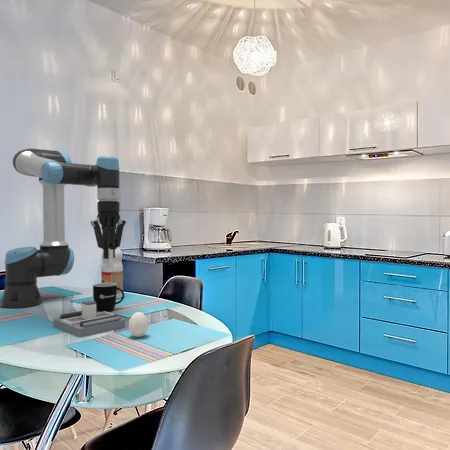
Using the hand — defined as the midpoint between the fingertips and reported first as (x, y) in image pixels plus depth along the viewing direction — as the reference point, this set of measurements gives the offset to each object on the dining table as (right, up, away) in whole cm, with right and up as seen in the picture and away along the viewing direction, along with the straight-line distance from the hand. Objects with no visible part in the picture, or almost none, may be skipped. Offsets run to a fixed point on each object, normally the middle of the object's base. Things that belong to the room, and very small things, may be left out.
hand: (109, 267), depth 149 cm
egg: (+14, -20, -18) cm, 30 cm away
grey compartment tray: (-5, -19, -7) cm, 21 cm away
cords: (-4, -16, -8) cm, 19 cm away
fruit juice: (-10, -18, +41) cm, 46 cm away
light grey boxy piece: (-5, -16, -7) cm, 18 cm away
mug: (-5, -19, +17) cm, 26 cm away
